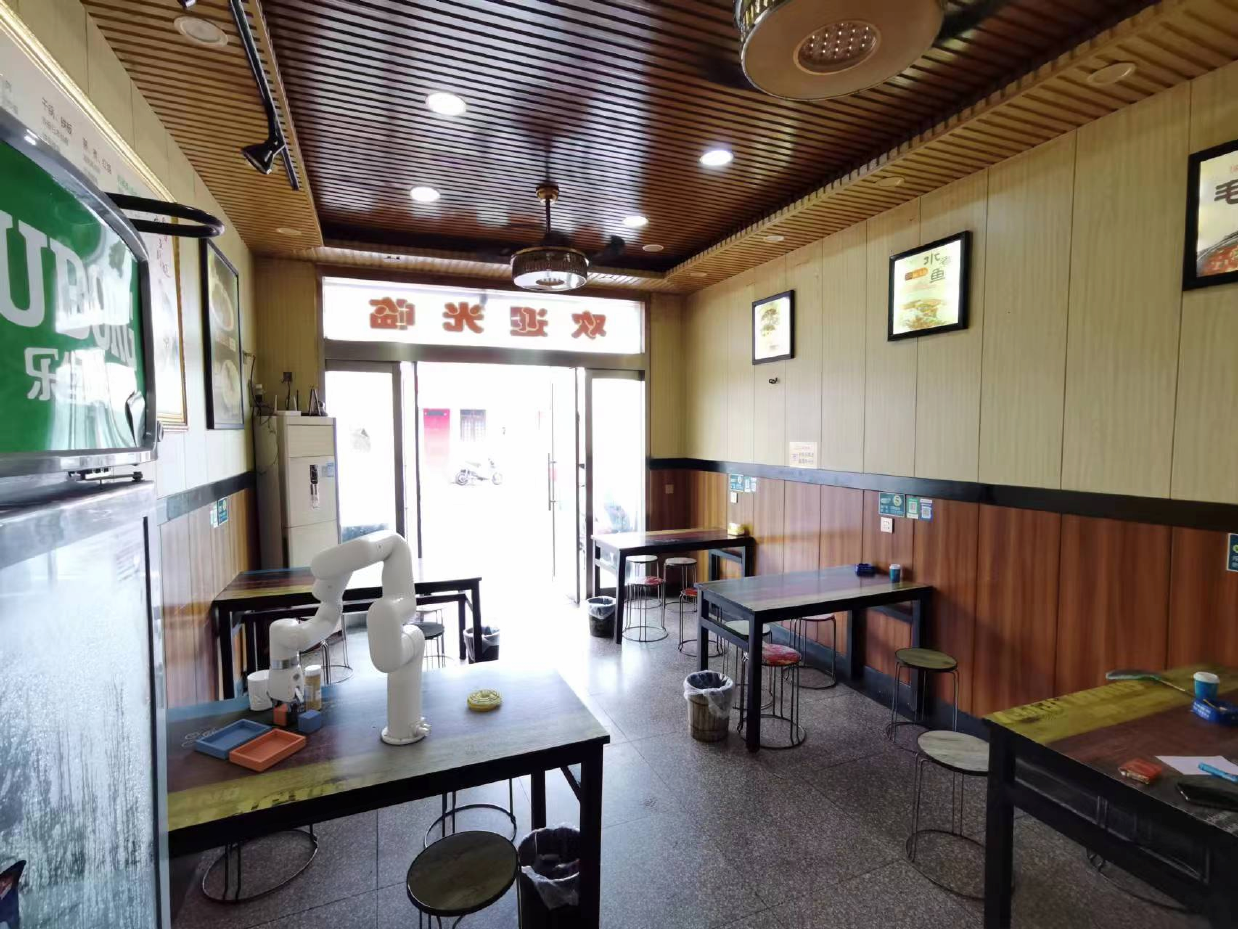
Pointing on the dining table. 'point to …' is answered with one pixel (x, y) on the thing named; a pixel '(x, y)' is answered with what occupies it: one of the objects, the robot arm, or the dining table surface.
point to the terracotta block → (280, 715)
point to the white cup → (259, 690)
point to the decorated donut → (484, 700)
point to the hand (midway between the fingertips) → (285, 720)
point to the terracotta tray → (267, 749)
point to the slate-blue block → (309, 721)
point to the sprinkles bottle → (313, 687)
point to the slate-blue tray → (231, 738)
